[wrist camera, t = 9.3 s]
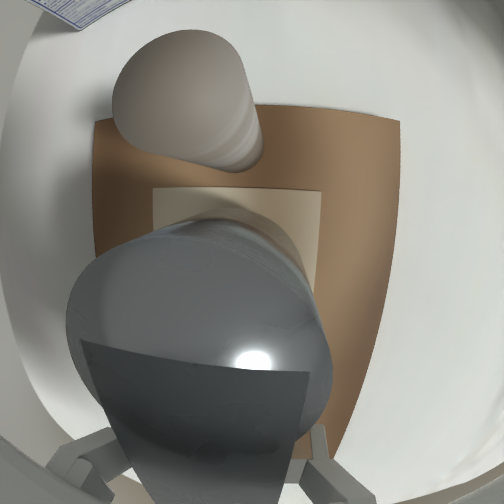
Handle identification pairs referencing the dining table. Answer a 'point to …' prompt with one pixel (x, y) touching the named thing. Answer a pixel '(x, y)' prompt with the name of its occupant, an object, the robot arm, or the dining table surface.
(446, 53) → the dining table surface
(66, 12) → the medicine box
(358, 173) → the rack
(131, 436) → the grey round-headed bar
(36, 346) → the dining table surface
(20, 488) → the robot arm
